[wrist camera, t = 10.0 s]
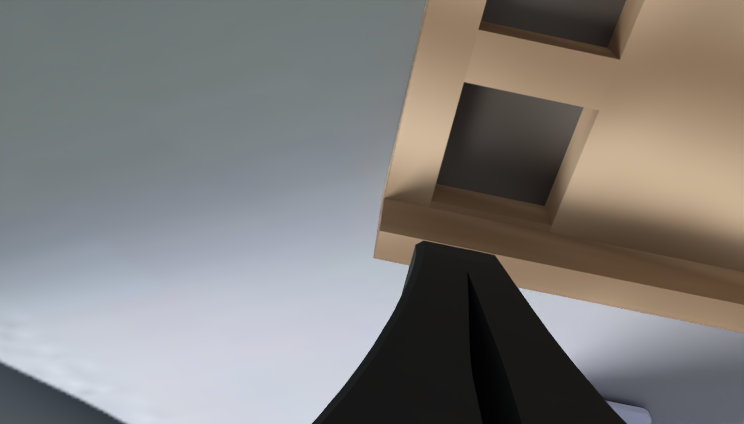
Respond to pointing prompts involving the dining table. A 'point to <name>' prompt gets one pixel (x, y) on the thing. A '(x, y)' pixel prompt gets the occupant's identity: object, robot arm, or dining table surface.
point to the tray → (580, 150)
